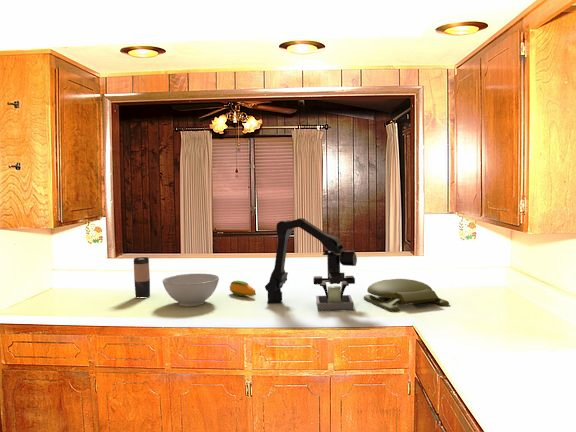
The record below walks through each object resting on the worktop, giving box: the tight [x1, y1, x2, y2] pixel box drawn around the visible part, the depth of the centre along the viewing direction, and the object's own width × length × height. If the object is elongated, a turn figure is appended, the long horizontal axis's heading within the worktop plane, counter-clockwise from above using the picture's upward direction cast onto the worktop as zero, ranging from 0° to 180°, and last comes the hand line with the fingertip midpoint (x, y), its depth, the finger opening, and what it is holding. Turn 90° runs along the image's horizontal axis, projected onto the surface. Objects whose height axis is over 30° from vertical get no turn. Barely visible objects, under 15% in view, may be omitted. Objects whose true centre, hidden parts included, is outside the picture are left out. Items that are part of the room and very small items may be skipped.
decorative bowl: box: [162, 273, 220, 307], centre depth 279 cm, size 27×27×12 cm
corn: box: [229, 280, 257, 297], centre depth 293 cm, size 7×8×20 cm
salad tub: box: [327, 285, 341, 303], centre depth 265 cm, size 6×6×7 cm
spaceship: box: [363, 278, 450, 313], centre depth 273 cm, size 35×31×10 cm
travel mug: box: [133, 256, 151, 298], centre depth 295 cm, size 8×8×20 cm
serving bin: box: [315, 294, 355, 312], centre depth 265 cm, size 16×16×4 cm
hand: (334, 298), depth 265 cm, fingers closed on salad tub, 6 cm apart
